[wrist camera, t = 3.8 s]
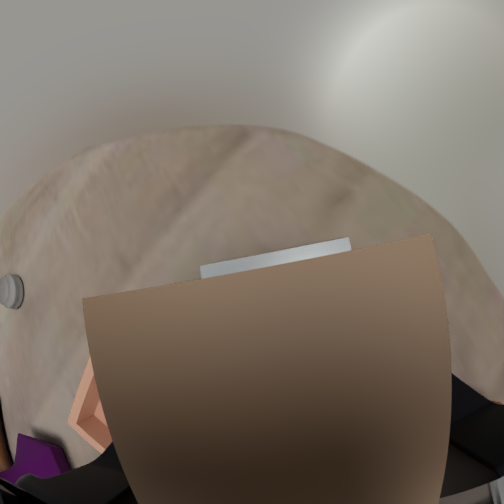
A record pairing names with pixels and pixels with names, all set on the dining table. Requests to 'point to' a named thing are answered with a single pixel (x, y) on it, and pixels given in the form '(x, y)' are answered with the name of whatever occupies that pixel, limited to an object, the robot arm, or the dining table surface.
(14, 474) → the perfume bottle
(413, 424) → the walnut block
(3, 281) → the rook chess piece
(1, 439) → the sunglasses case
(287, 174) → the dining table surface
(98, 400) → the box
